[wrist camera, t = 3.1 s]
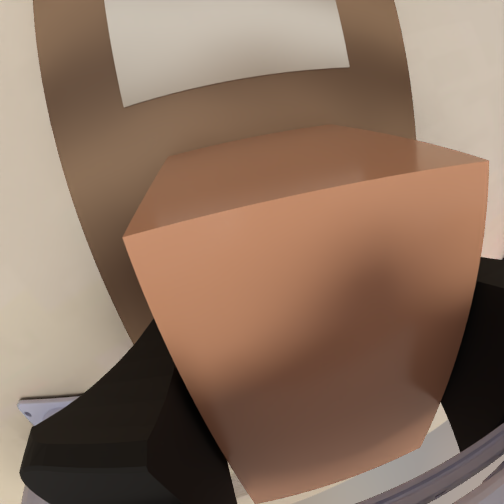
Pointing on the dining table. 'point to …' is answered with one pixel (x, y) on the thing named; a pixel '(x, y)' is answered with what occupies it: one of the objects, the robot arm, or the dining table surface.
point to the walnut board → (201, 94)
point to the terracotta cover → (312, 293)
